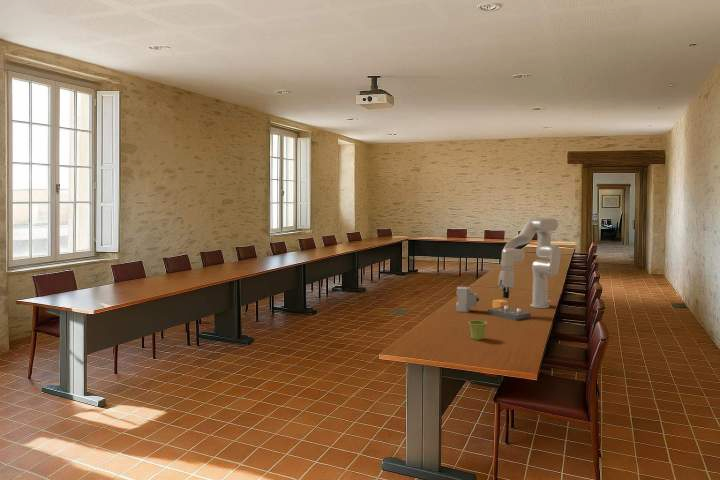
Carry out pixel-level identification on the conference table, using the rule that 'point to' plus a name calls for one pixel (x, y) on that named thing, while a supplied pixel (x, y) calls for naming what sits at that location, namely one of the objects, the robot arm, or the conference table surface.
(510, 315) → the panel
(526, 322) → the conference table surface
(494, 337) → the conference table surface
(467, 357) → the conference table surface
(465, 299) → the circuit breaker
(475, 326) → the plant pot
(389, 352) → the conference table surface
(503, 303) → the cap
